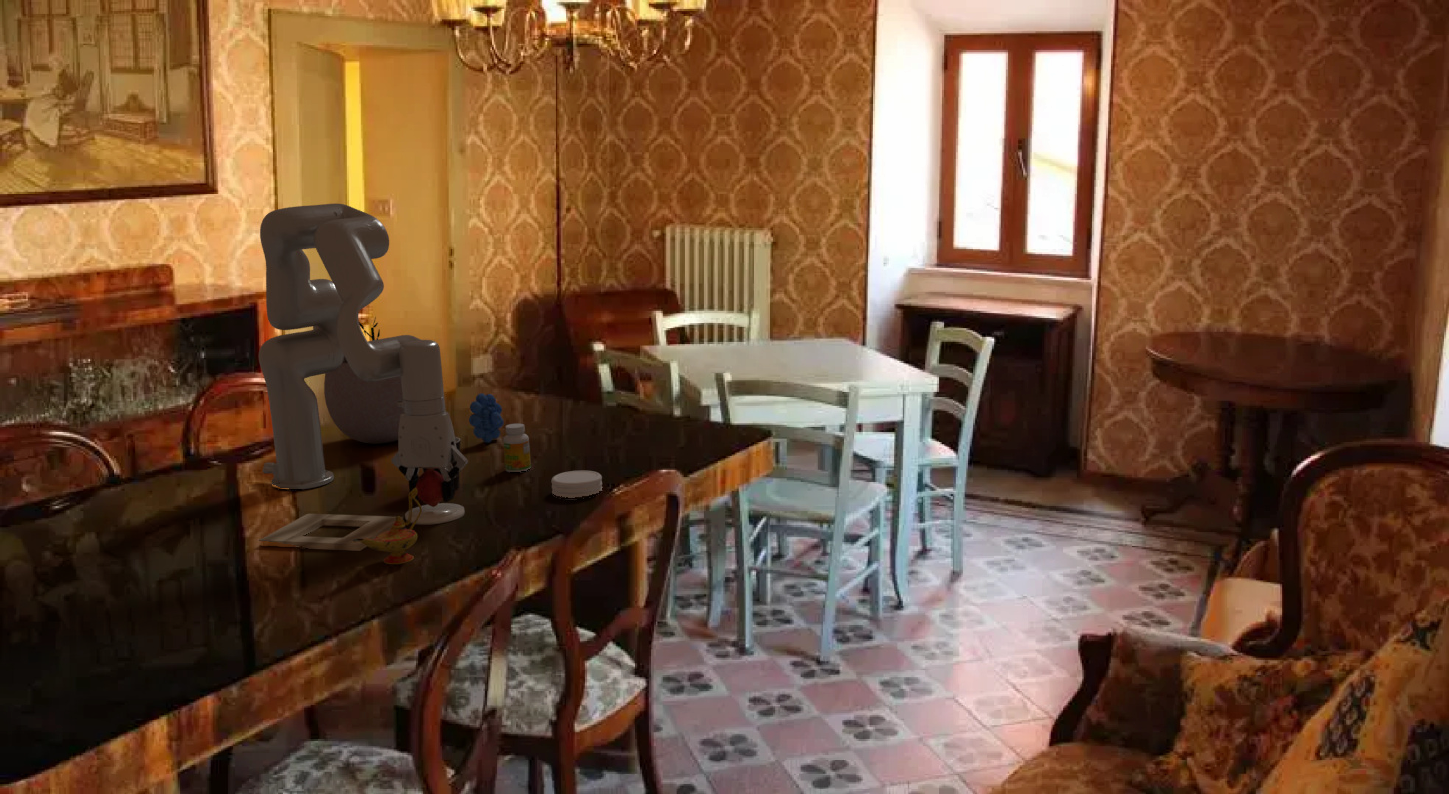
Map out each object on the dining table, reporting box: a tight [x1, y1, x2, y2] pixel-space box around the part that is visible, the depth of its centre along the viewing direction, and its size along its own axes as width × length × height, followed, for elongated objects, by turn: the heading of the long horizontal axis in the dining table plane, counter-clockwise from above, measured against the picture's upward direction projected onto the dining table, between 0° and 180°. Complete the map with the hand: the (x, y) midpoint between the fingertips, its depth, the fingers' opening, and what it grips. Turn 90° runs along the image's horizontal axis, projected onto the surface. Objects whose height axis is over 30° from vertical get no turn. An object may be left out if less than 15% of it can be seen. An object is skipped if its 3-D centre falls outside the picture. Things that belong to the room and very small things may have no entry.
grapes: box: [468, 393, 505, 444], centre depth 304 cm, size 12×7×12 cm, turn 154°
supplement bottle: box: [502, 423, 532, 473], centre depth 279 cm, size 5×5×10 cm
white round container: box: [550, 470, 603, 498], centre depth 261 cm, size 10×10×4 cm
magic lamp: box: [353, 488, 422, 565], centre depth 223 cm, size 7×18×11 cm, turn 156°
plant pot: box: [323, 316, 404, 445], centre depth 309 cm, size 24×24×30 cm
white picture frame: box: [258, 513, 404, 552], centre depth 241 cm, size 20×16×1 cm
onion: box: [416, 468, 444, 507], centre depth 248 cm, size 6×6×8 cm
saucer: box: [404, 502, 465, 526], centre depth 250 cm, size 11×11×1 cm
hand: (432, 498), depth 249 cm, fingers closed on onion, 5 cm apart
